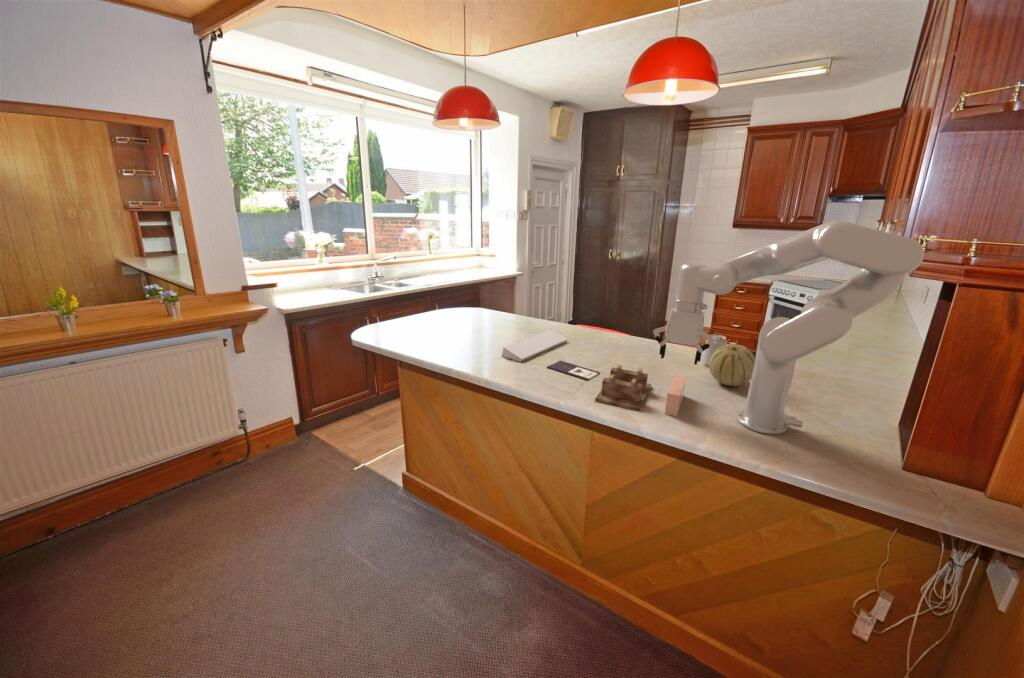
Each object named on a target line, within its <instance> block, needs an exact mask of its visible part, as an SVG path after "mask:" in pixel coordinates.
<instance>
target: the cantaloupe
mask: <svg viewBox="0 0 1024 678" xmlns="http://www.w3.org/2000/svg"><path fill="white" fill-rule="evenodd" d="M755 357H756V356H755V355H754V354H753V352H752V350H750V349H749V348H748V347H746V346H744V345H742V344H741V345H740V344H737V343H730V344H728V343H727V345H723V346H721V347H719V348H718V349H716V351H715V352H714V353H713V354H712V356H711V358H710V360H709V367H708V369H709V372H710V374H711V375H712V377H713V378H714V380H715V381H717V382H719V383H721V384H722V385H725V386H729V387H739V386H741V385H744V384H746V383H747V382H748V383H749V382H750V381H751V377H752V372H753V367H754V362H755Z"/></svg>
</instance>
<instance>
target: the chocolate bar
mask: <svg viewBox="0 0 1024 678" xmlns="http://www.w3.org/2000/svg"><path fill="white" fill-rule="evenodd" d="M546 368H547V369H548V370H552V371H555V372H558V373H561V374H565V375H567V376H571V377H574V378H577V379H580V380H583V381H589V380H592V379H593V378H594V377H596V376H598V375H600V373H601V372H600V371H596V370H594V369H590V368H586V367H583V366H580V365H577V364H573V363H570V362H566V361H563V360H559V361H557V362H554V363H552V364H550V365H547V366H546Z"/></svg>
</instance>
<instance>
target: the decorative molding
mask: <svg viewBox="0 0 1024 678" xmlns="http://www.w3.org/2000/svg"><path fill="white" fill-rule="evenodd" d="M568 340H569V339H568V338H567V337H565V336H564V335H562V334H560V333H559V332H556V331H555V330H553V329H549V330H546V331H543V332H540V333H537V334H535V335H533V336H529V337H527V338H525V339H522V340H519V341H517V342H514V343H512V344H508V345H506V346H504V347H503V348H502V353H501V357H502V356H503V357H502V358H505V357H506V359H510V360H511V359H512V361H515V360H516V361H515V362H518V361H519V362H518V363H521V361H522V362H523V361H527V360H529V359H530V358H534V357H535V356H537V355H539V354H542V353H544V352H546V351H549V350H551V349H553V348H555V347H558V346H559V345H560V346H561V345H562V344H564V343H567V341H568ZM528 358H529V359H528Z"/></svg>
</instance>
